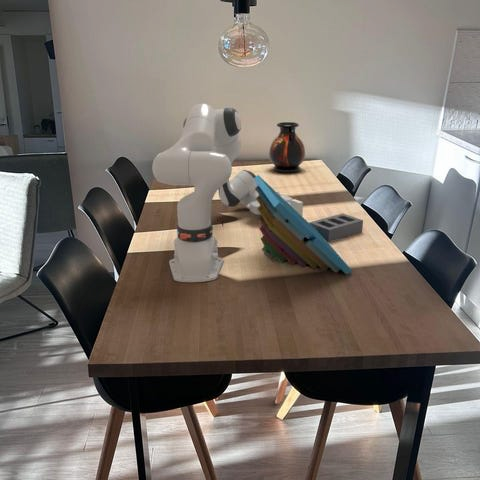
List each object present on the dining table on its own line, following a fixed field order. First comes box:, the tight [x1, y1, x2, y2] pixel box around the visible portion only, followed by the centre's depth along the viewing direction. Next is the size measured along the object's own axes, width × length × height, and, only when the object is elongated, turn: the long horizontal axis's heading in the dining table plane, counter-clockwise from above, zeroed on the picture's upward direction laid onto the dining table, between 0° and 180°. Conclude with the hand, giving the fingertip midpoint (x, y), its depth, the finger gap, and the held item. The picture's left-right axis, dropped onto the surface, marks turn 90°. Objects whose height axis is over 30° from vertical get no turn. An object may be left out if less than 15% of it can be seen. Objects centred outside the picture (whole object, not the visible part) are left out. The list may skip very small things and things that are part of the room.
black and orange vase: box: [268, 121, 306, 174], centre depth 292 cm, size 22×22×28 cm
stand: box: [308, 213, 364, 243], centre depth 196 cm, size 11×19×5 cm, turn 125°
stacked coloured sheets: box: [254, 174, 353, 276], centre depth 172 cm, size 35×18×35 cm
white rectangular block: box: [291, 198, 304, 217], centre depth 200 cm, size 5×2×12 cm, turn 35°
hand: (283, 209), depth 206 cm, fingers open, 8 cm apart
